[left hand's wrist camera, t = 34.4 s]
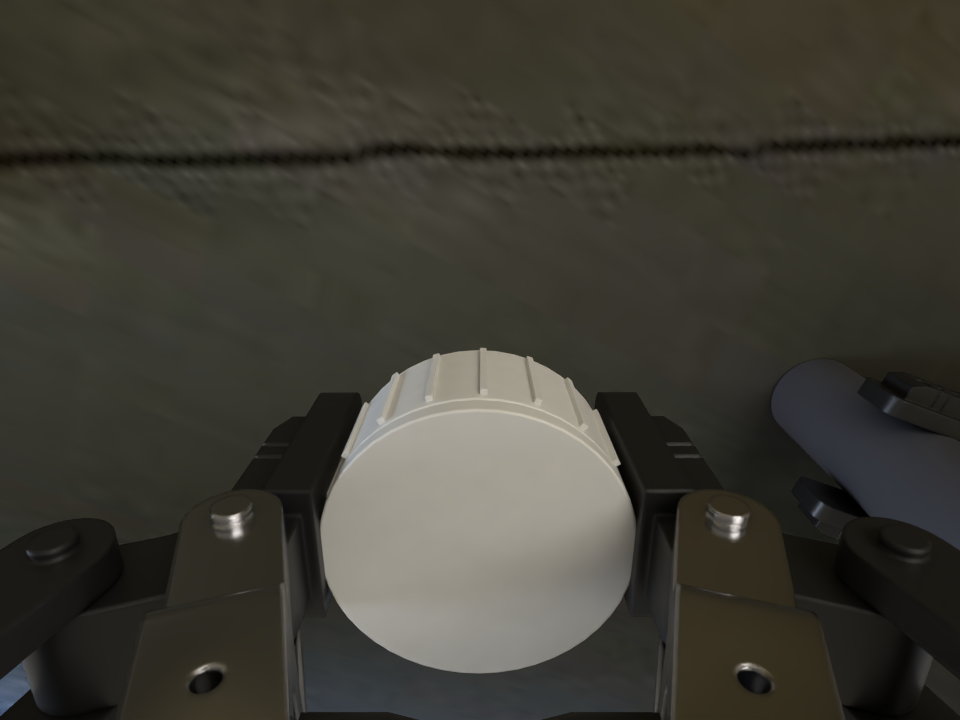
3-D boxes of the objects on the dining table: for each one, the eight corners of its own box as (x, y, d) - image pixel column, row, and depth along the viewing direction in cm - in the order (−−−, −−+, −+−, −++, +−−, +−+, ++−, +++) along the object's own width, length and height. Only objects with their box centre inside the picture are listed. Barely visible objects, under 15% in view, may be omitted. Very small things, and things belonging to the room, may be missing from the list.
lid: (665, 468, 11) (712, 553, 9) (480, 616, 12) (480, 723, 10) (478, 288, 10) (476, 334, 8) (293, 471, 11) (246, 556, 9)
